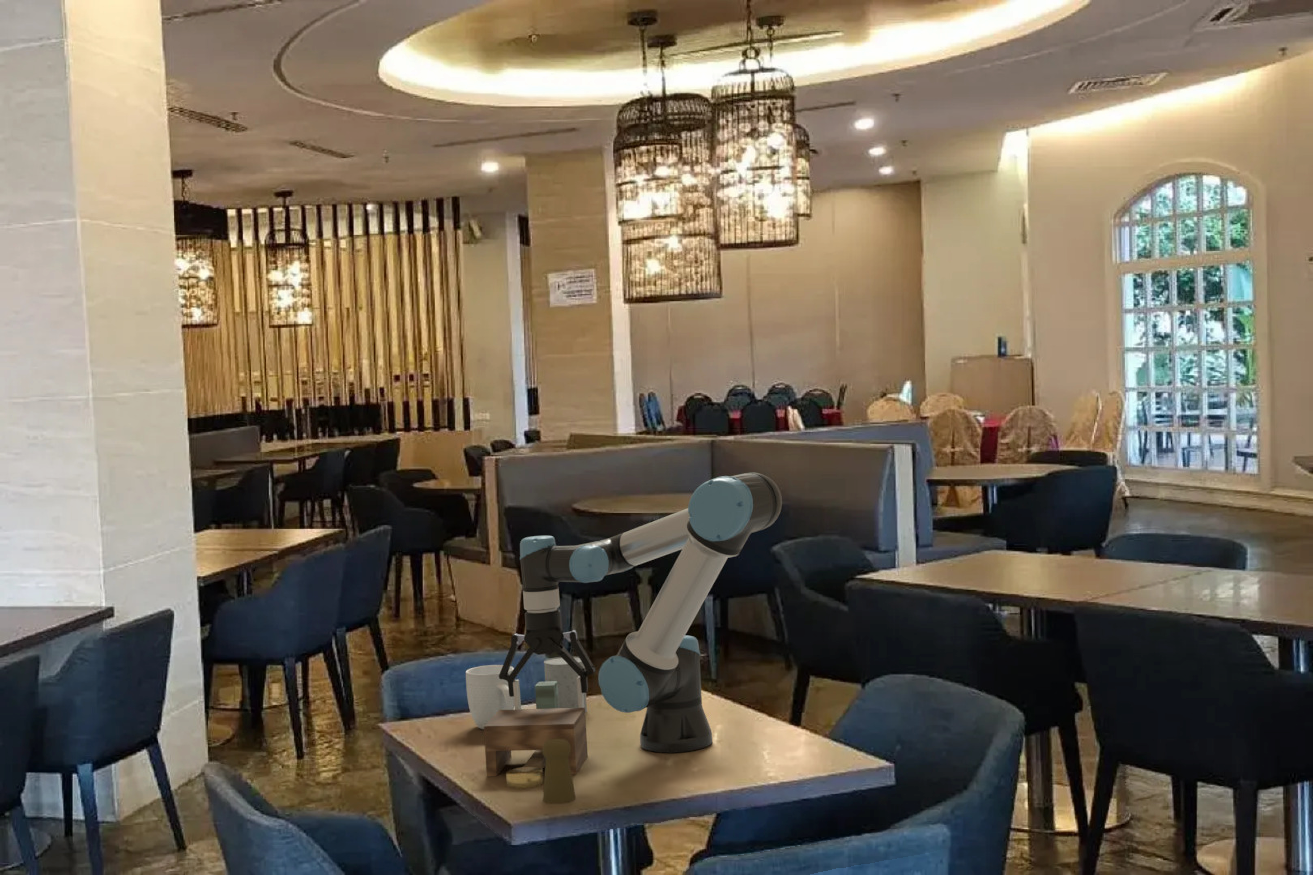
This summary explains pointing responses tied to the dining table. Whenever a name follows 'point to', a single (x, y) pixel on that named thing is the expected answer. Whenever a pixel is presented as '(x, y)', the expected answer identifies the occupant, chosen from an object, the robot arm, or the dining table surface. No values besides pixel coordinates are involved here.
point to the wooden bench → (534, 734)
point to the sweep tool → (544, 700)
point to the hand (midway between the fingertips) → (549, 710)
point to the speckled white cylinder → (564, 681)
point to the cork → (557, 772)
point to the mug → (487, 693)
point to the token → (524, 777)
